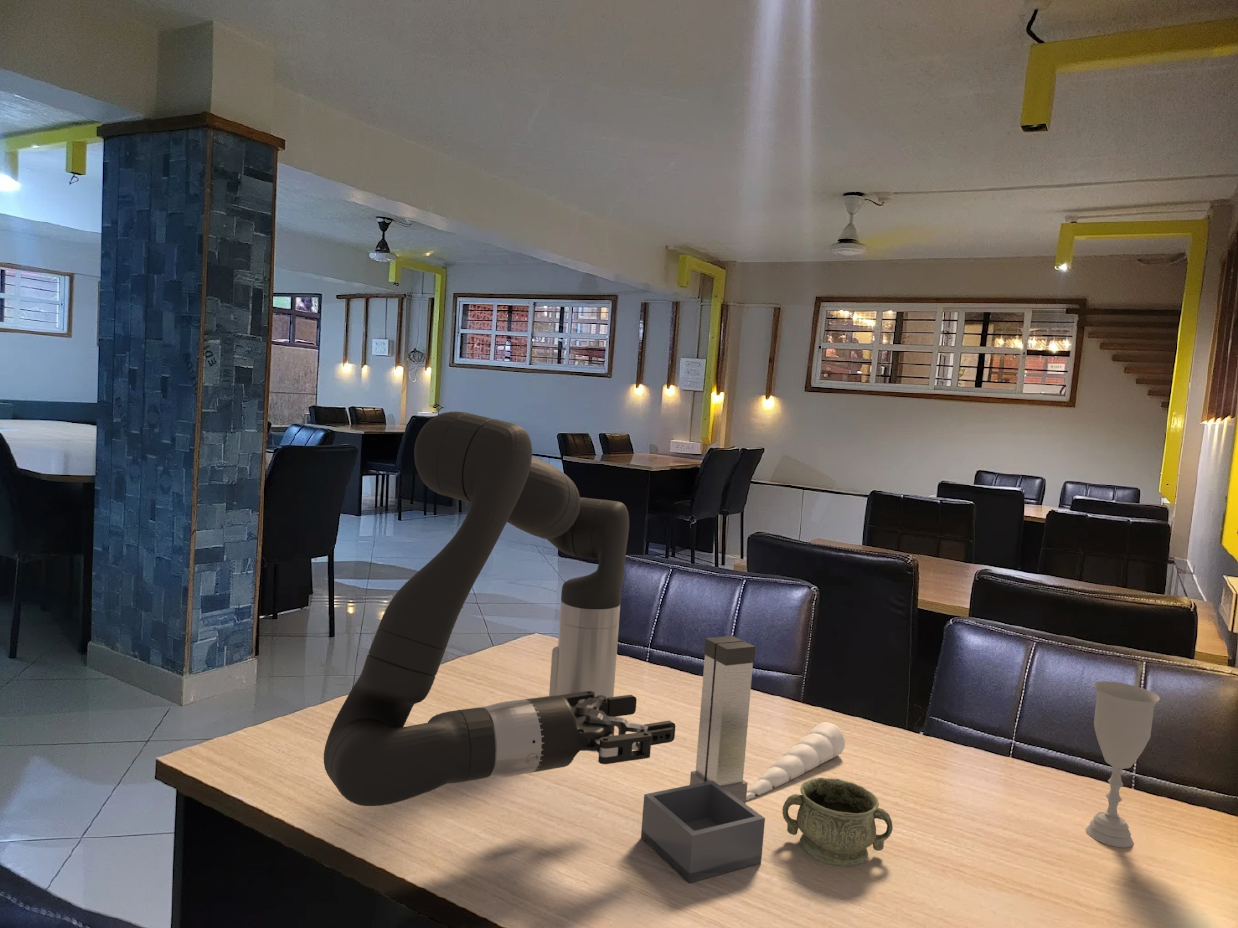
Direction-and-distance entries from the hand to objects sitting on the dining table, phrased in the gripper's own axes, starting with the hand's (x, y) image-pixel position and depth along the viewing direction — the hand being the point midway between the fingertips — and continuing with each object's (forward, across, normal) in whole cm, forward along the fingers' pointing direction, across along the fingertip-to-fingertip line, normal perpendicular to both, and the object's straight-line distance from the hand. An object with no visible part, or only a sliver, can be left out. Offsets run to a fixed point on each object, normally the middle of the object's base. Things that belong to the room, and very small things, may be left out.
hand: (653, 716), depth 95 cm
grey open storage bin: (+2, -9, +12) cm, 15 cm away
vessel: (+16, -14, +12) cm, 25 cm away
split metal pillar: (+10, 0, +12) cm, 16 cm away
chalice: (+51, -25, +12) cm, 58 cm away
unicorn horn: (+25, +2, +13) cm, 28 cm away
